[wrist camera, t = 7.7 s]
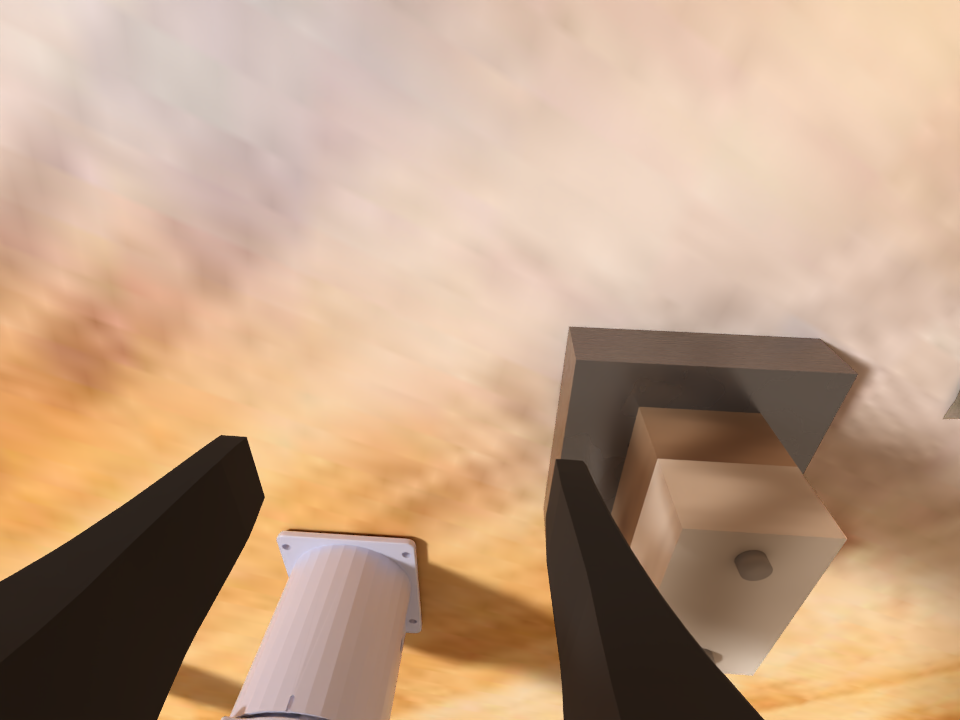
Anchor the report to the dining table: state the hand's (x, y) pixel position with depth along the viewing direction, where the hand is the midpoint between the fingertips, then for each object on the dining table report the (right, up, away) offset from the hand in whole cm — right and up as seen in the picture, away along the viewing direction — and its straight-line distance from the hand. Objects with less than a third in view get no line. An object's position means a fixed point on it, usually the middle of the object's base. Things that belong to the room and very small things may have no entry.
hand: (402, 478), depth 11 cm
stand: (+10, -1, +11) cm, 15 cm away
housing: (+10, -2, +9) cm, 14 cm away
